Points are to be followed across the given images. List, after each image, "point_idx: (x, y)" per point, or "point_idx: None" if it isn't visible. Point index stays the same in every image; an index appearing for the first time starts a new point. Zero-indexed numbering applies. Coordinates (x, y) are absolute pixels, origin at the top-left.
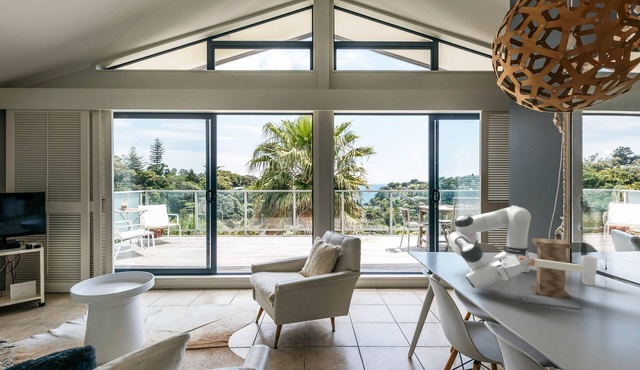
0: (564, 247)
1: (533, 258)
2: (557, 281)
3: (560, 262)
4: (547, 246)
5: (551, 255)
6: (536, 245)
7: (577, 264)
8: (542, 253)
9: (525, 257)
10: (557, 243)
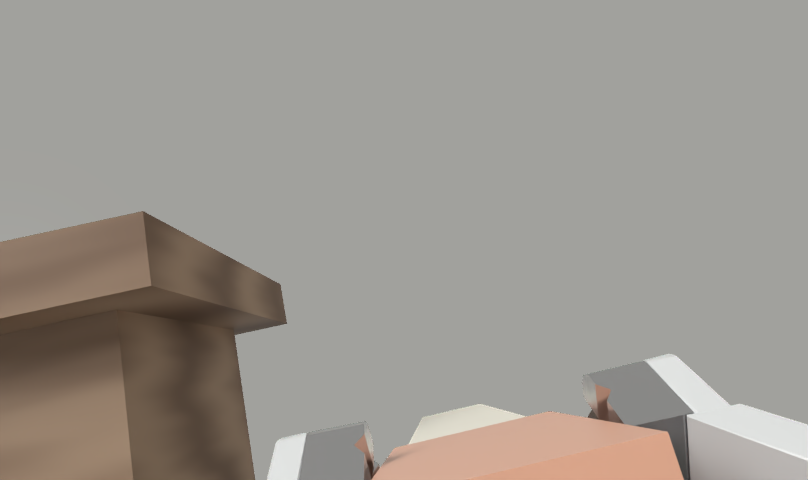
0: (270, 311)
1: (450, 435)
2: None
3: (451, 418)
4: (215, 297)
5: (199, 443)
6: (137, 279)
7: (439, 414)
8: (144, 439)
9: (454, 454)
10: (244, 266)
